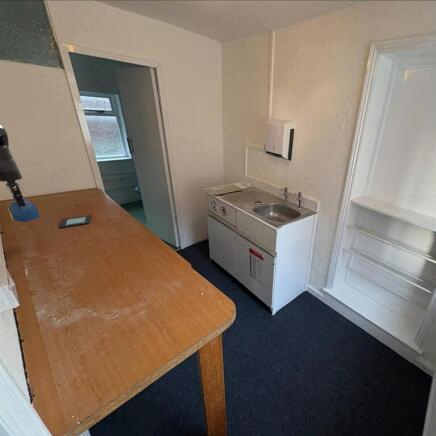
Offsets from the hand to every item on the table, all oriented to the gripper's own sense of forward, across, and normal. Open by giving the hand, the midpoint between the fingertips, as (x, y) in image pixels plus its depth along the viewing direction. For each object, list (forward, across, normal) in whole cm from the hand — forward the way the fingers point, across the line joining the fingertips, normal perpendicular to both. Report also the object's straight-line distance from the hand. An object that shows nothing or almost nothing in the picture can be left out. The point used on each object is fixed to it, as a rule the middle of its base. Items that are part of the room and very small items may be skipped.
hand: (21, 204), depth 111 cm
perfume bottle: (+8, 0, 0) cm, 8 cm away
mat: (+19, +13, -18) cm, 30 cm away
